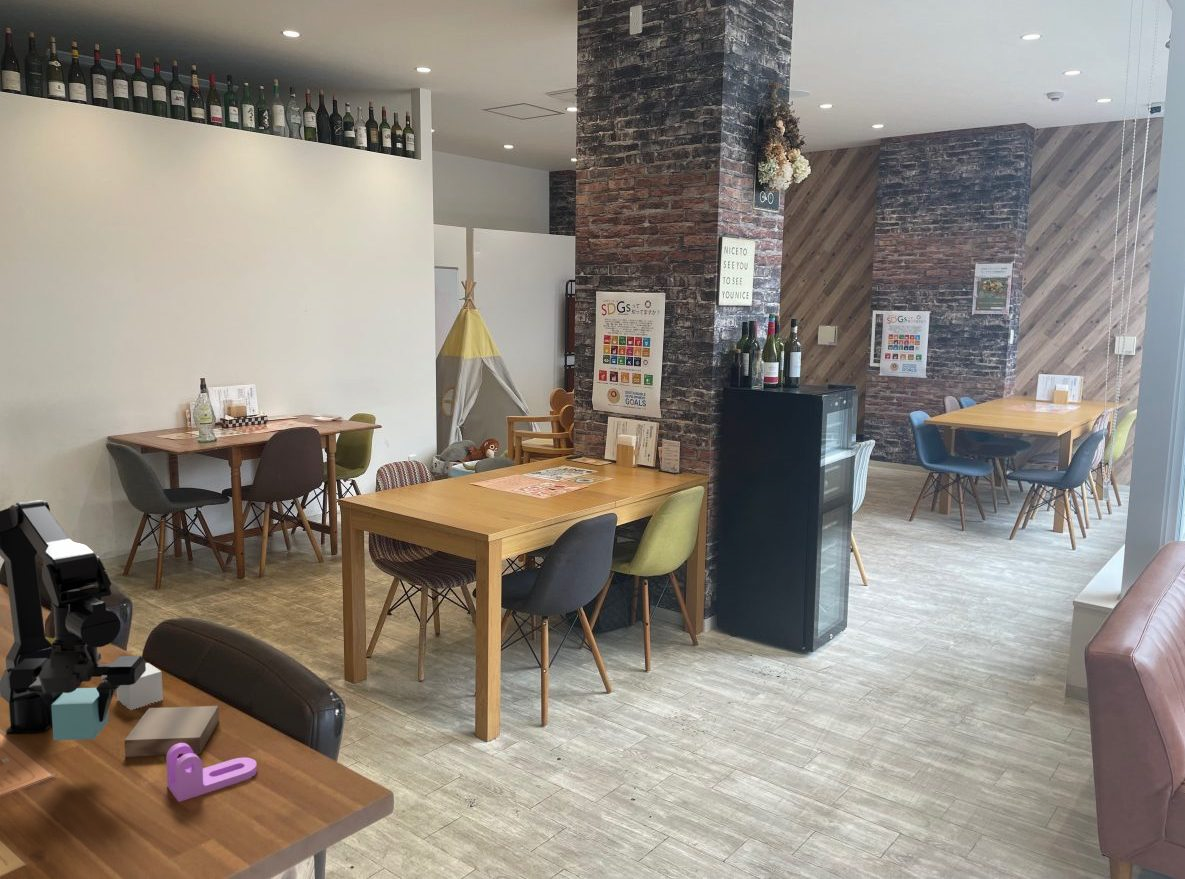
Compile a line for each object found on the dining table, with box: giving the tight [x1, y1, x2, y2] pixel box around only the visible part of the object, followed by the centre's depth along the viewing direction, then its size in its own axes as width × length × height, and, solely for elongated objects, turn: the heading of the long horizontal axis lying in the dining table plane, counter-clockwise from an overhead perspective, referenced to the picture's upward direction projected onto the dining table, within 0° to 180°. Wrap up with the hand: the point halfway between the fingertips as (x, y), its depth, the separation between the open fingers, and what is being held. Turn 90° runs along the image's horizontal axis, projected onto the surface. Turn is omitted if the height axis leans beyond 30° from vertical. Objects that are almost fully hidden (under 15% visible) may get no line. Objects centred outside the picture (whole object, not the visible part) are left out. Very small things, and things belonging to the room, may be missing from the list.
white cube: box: [116, 662, 164, 711], centre depth 170 cm, size 6×6×6 cm
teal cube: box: [51, 687, 110, 741], centre depth 143 cm, size 6×6×6 cm
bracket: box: [165, 743, 258, 803], centre depth 143 cm, size 13×6×7 cm, turn 132°
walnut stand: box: [124, 705, 220, 758], centre depth 156 cm, size 12×12×3 cm
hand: (81, 721), depth 144 cm, fingers closed on teal cube, 6 cm apart
